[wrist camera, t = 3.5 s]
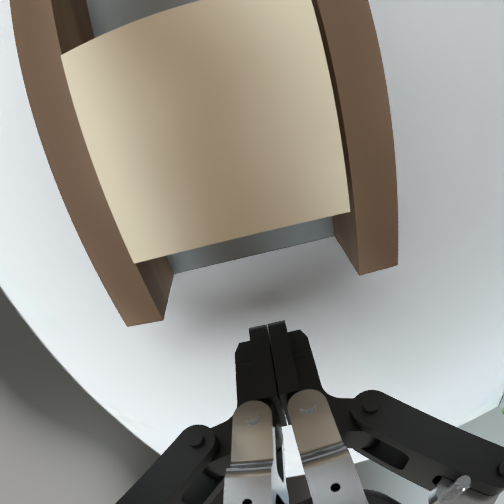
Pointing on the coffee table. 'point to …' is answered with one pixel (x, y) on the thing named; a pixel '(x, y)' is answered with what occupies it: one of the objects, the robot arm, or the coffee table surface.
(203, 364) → the coffee table surface
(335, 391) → the coffee table surface
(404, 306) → the coffee table surface
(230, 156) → the maple block
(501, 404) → the string lights box
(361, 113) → the walnut chute
